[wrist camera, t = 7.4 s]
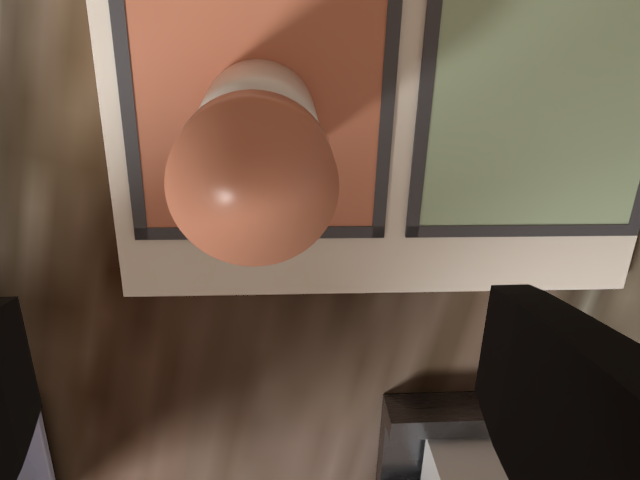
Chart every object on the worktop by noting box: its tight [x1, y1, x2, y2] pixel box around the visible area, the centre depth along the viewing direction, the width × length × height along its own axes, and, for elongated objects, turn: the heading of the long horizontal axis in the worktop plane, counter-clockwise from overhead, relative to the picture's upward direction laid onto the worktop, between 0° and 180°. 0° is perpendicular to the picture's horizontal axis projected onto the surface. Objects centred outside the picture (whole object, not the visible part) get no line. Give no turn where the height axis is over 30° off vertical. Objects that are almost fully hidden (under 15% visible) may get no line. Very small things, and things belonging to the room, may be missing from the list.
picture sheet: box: [86, 0, 640, 297], centre depth 18 cm, size 17×12×1 cm
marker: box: [164, 59, 339, 267], centre depth 15 cm, size 3×3×6 cm
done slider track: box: [376, 392, 490, 480], centre depth 23 cm, size 9×4×3 cm, turn 88°
